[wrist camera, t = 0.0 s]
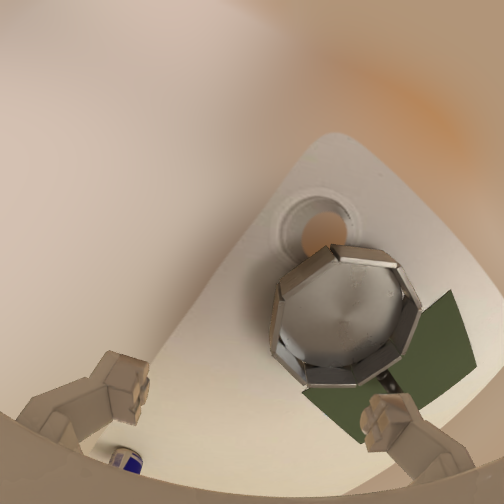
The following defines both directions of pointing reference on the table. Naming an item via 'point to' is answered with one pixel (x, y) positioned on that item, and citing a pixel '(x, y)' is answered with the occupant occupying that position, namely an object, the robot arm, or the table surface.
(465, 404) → the table surface
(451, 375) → the mat
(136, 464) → the beverage can
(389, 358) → the octagonal skillet
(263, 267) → the table surface
